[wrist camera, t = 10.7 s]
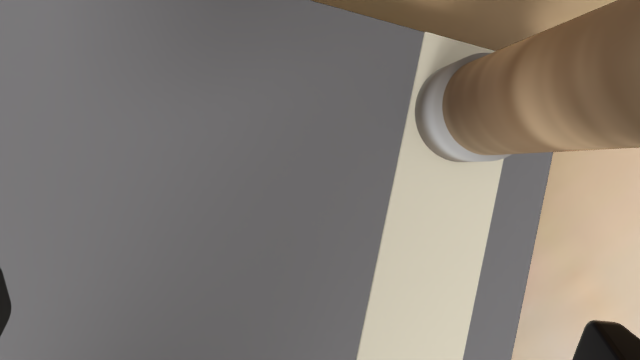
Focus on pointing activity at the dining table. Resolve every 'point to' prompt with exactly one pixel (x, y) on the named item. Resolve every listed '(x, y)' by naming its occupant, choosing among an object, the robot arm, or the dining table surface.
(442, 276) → the subfloor board
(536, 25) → the dining table surface
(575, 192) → the dining table surface
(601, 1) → the dining table surface
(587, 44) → the tan cylinder
